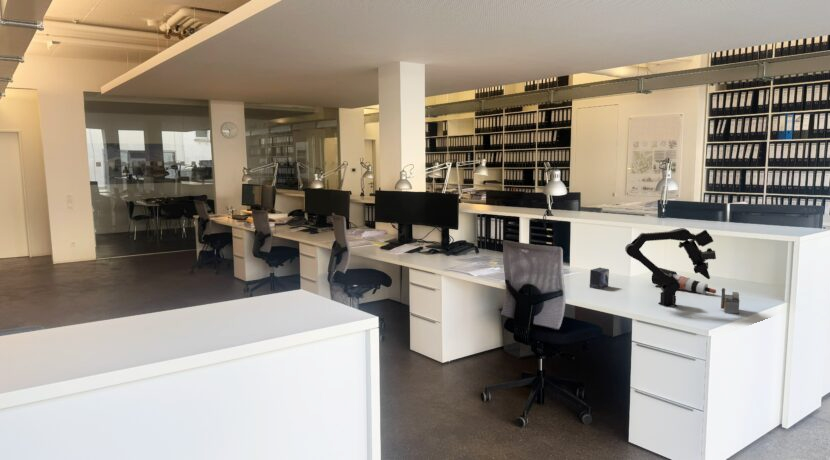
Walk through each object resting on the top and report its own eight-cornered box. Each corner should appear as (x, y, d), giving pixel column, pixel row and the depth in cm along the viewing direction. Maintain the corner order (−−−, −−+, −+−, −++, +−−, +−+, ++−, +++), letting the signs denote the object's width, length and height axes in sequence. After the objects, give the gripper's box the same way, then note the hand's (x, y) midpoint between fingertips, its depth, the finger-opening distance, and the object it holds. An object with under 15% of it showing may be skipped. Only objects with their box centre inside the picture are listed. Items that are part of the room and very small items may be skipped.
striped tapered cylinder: (711, 304, 302) (710, 289, 297) (652, 287, 327) (650, 273, 323) (720, 293, 306) (719, 279, 302) (661, 277, 332) (659, 264, 327)
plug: (720, 310, 272) (722, 288, 271) (720, 308, 276) (721, 287, 275) (736, 311, 269) (737, 290, 268) (735, 309, 273) (736, 288, 272)
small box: (599, 289, 320) (599, 271, 318) (589, 287, 324) (589, 269, 323) (609, 286, 326) (609, 268, 325) (598, 284, 331) (599, 267, 330)
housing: (724, 312, 269) (726, 294, 268) (723, 307, 278) (724, 290, 277) (738, 314, 266) (739, 295, 265) (736, 309, 275) (738, 291, 274)
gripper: (710, 249, 266) (726, 277, 266) (709, 239, 282) (724, 266, 282) (686, 258, 271) (703, 287, 271) (687, 249, 288) (702, 275, 287)
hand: (709, 278), depth 278 cm, fingers closed
